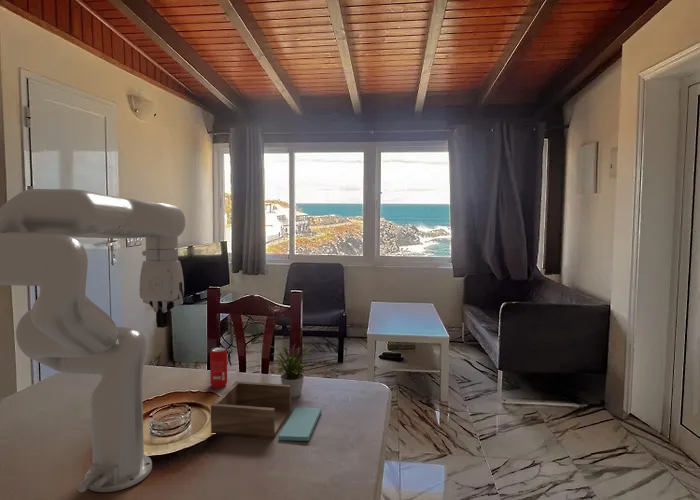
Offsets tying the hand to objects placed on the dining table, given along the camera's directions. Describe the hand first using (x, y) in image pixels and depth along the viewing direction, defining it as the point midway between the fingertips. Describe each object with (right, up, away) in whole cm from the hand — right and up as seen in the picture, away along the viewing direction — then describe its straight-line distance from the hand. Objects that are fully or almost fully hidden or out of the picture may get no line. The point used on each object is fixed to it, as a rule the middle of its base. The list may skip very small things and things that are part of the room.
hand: (163, 326), depth 112 cm
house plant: (+29, -25, +21) cm, 44 cm away
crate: (+23, -26, +3) cm, 35 cm away
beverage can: (+6, -24, +28) cm, 38 cm away
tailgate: (+32, -26, +2) cm, 41 cm away
